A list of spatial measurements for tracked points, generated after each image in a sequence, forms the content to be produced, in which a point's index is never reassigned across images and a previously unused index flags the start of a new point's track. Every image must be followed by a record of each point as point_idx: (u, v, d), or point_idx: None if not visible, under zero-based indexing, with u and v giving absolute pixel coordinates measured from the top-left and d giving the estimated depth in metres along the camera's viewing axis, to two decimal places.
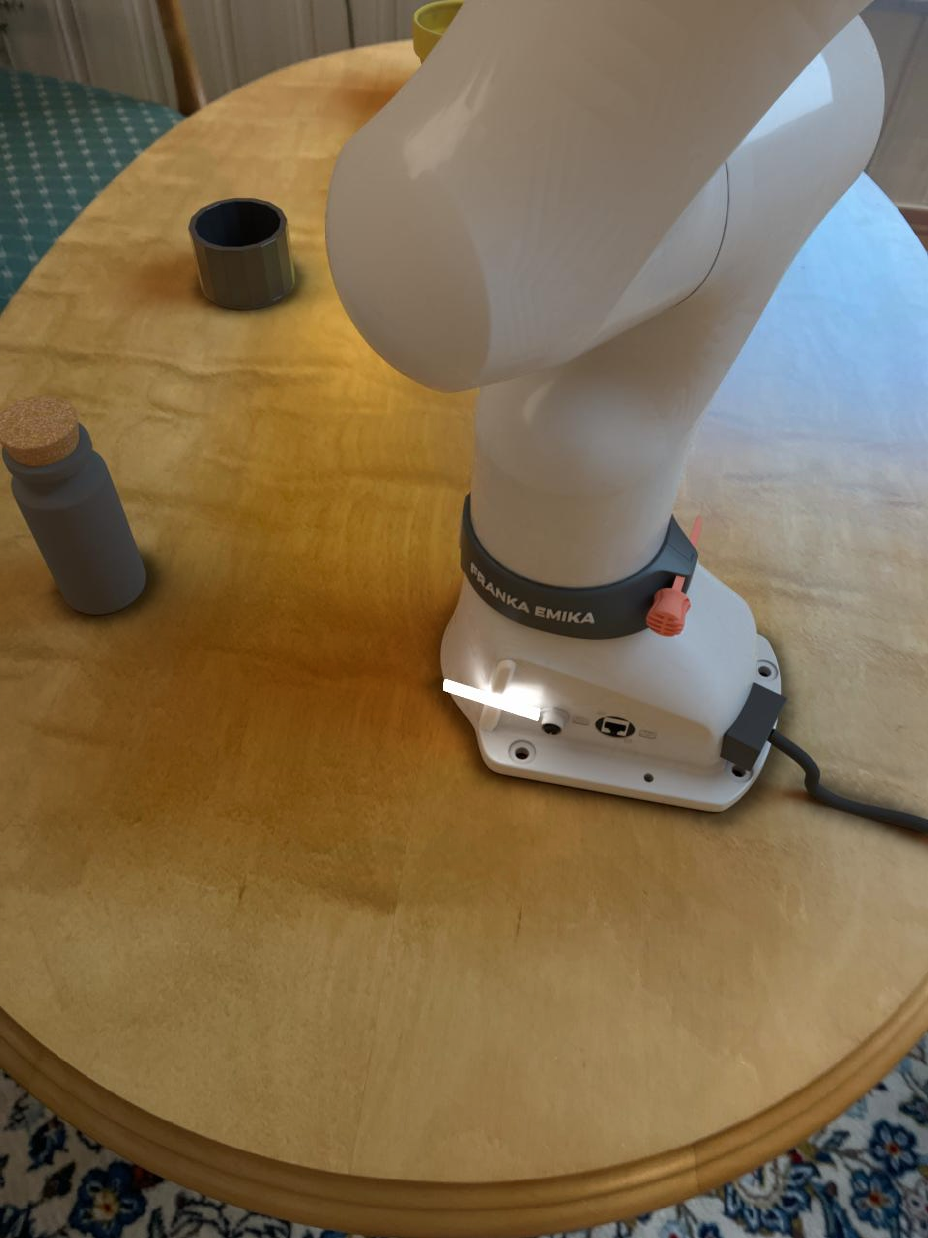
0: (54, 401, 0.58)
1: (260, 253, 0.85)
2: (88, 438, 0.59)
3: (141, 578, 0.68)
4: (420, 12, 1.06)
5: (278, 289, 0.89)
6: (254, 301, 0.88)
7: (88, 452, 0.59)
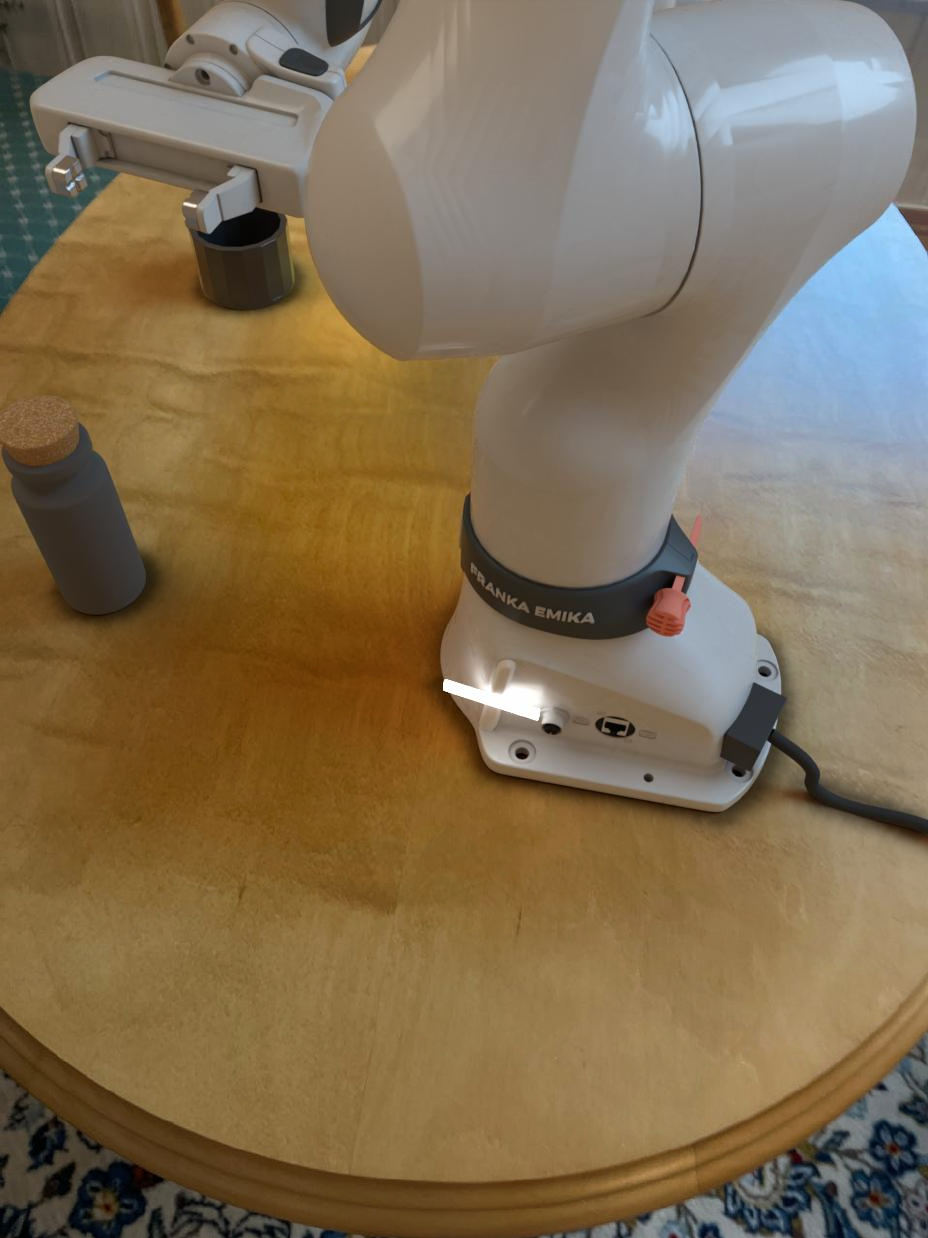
0: (54, 401, 0.58)
1: (260, 253, 0.85)
2: (88, 438, 0.59)
3: (141, 578, 0.68)
4: None
5: (278, 289, 0.89)
6: (254, 301, 0.88)
7: (88, 452, 0.59)
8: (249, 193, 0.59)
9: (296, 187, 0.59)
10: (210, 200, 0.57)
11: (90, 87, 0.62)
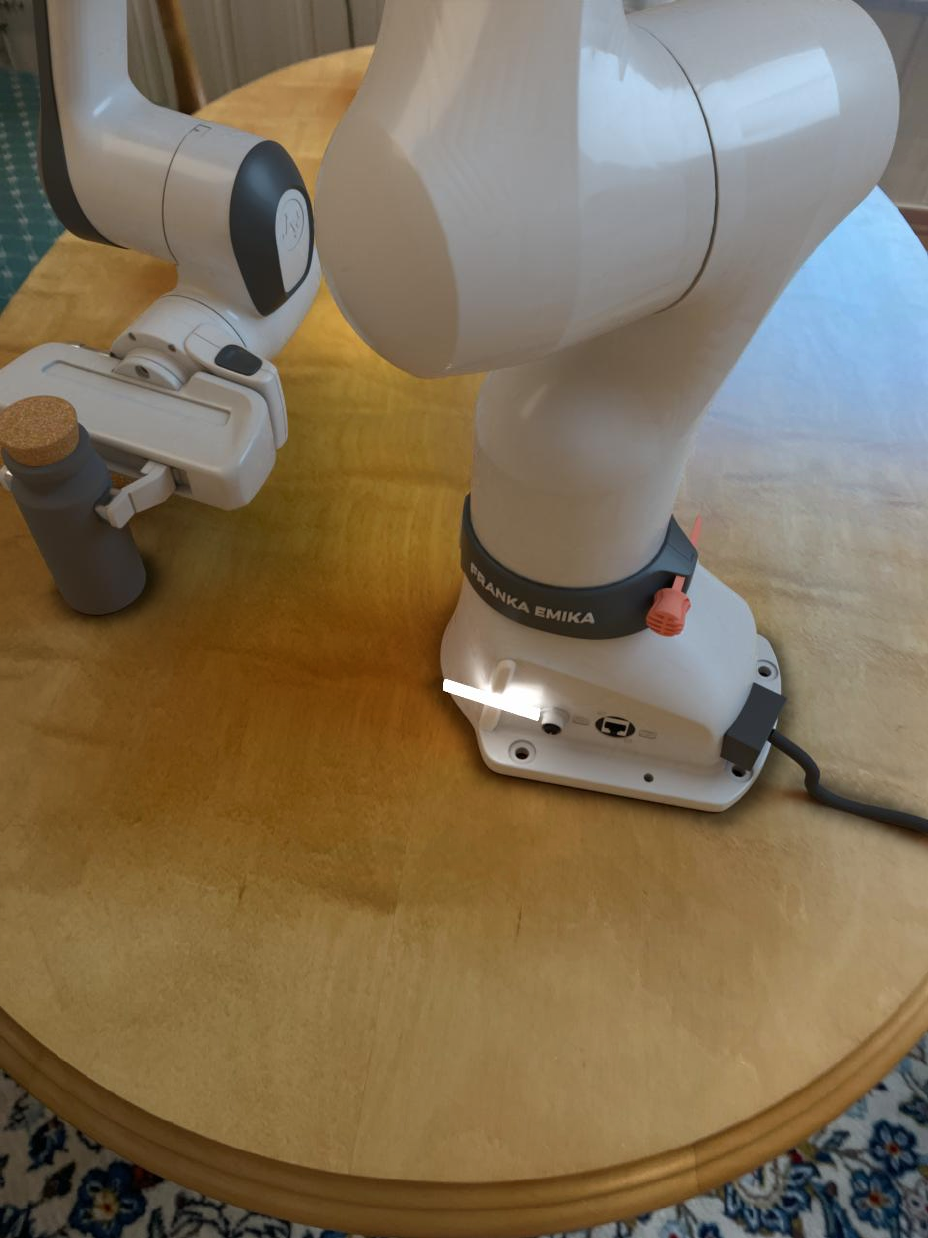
0: (54, 401, 0.58)
1: None
2: (88, 438, 0.59)
3: (141, 578, 0.68)
4: None
5: None
6: None
7: (88, 452, 0.59)
8: (162, 487, 0.62)
9: (222, 488, 0.61)
10: (121, 500, 0.60)
11: (36, 380, 0.66)
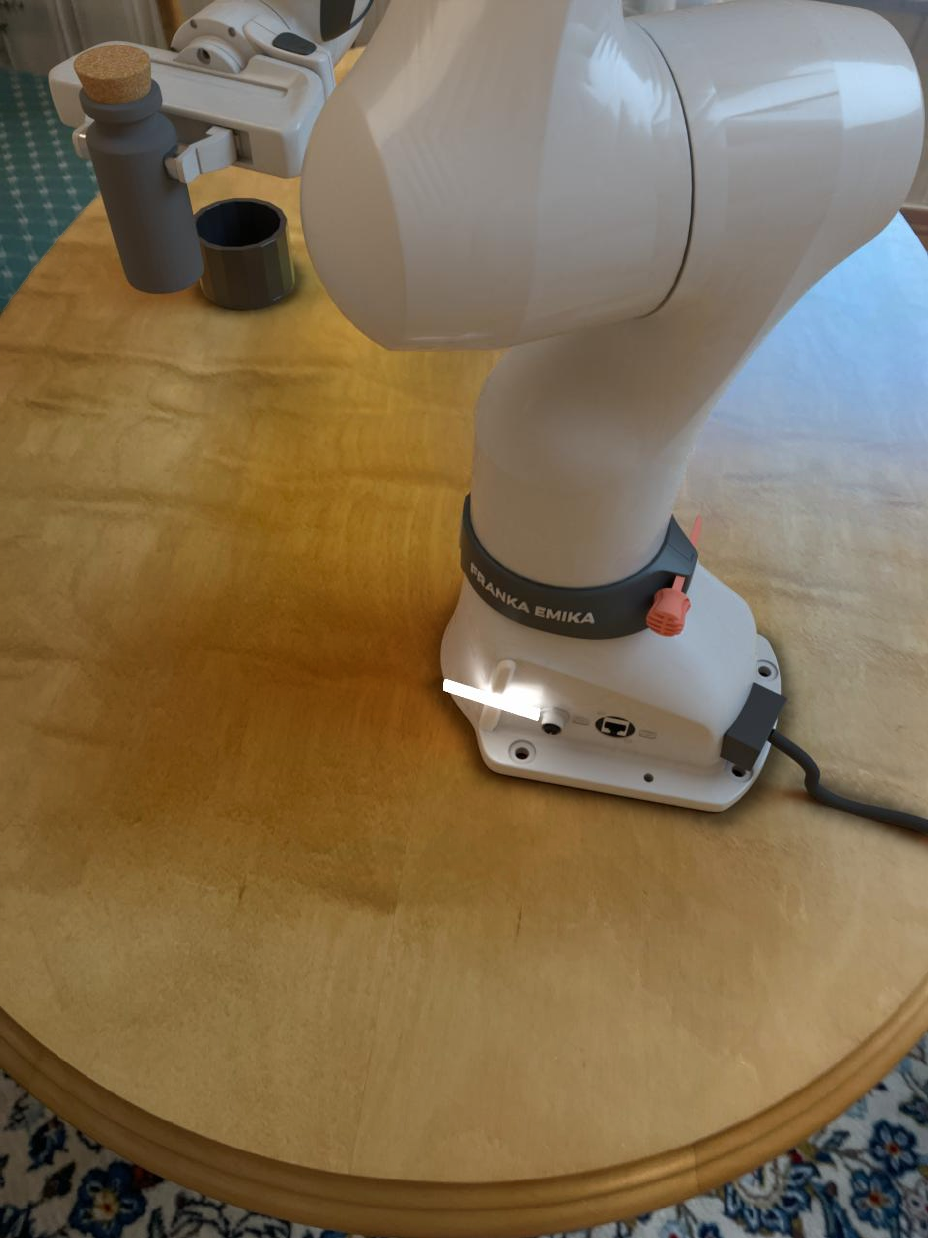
0: (128, 48, 0.62)
1: (260, 253, 0.85)
2: (159, 87, 0.63)
3: (200, 263, 0.72)
4: None
5: (278, 289, 0.89)
6: (254, 301, 0.88)
7: (159, 99, 0.63)
8: (225, 150, 0.66)
9: (282, 148, 0.65)
10: (189, 153, 0.64)
11: None
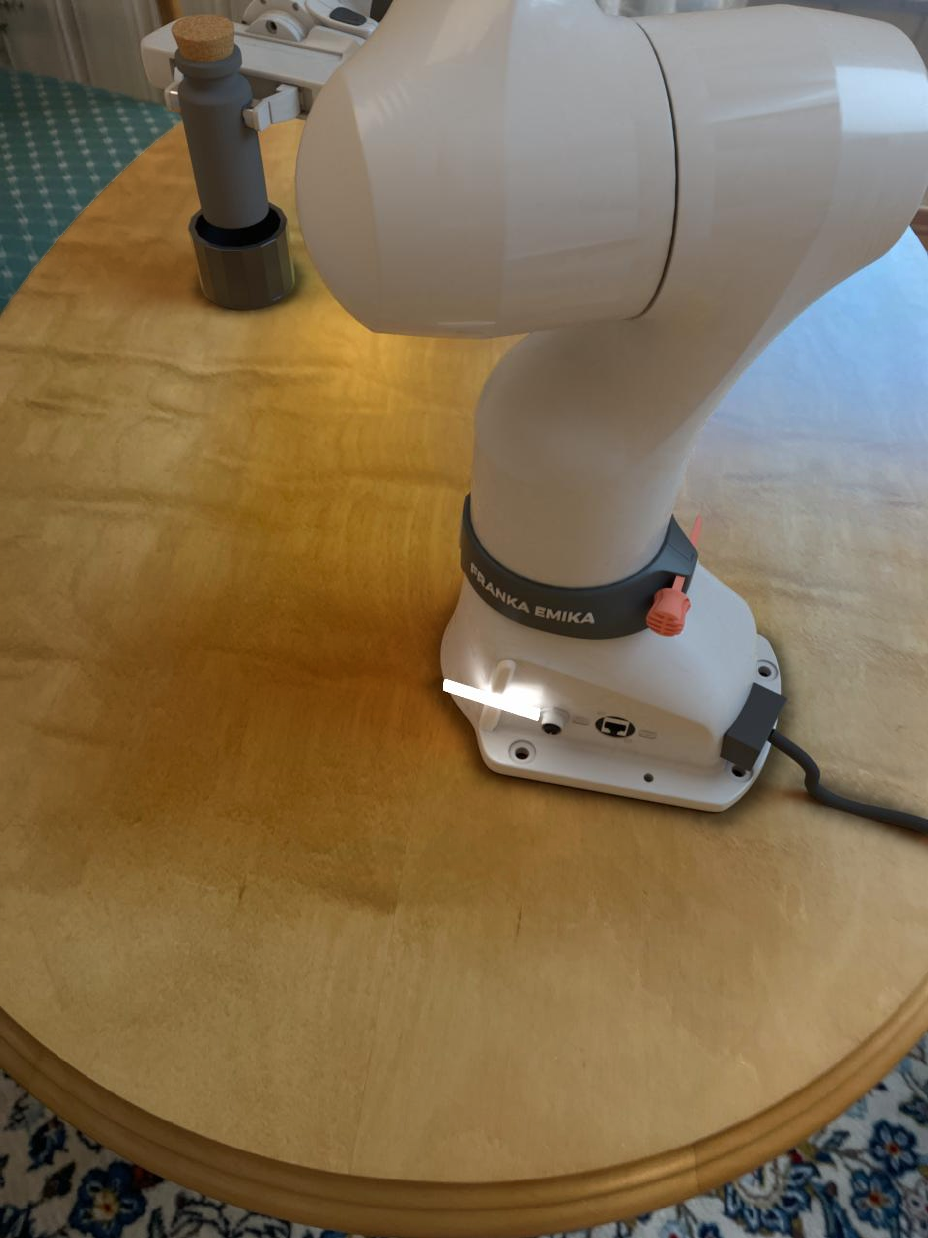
0: (215, 16, 0.75)
1: (260, 253, 0.85)
2: (239, 50, 0.76)
3: (266, 203, 0.85)
4: None
5: (278, 289, 0.89)
6: (254, 301, 0.88)
7: (240, 59, 0.75)
8: (292, 104, 0.79)
9: None
10: (263, 105, 0.77)
11: None
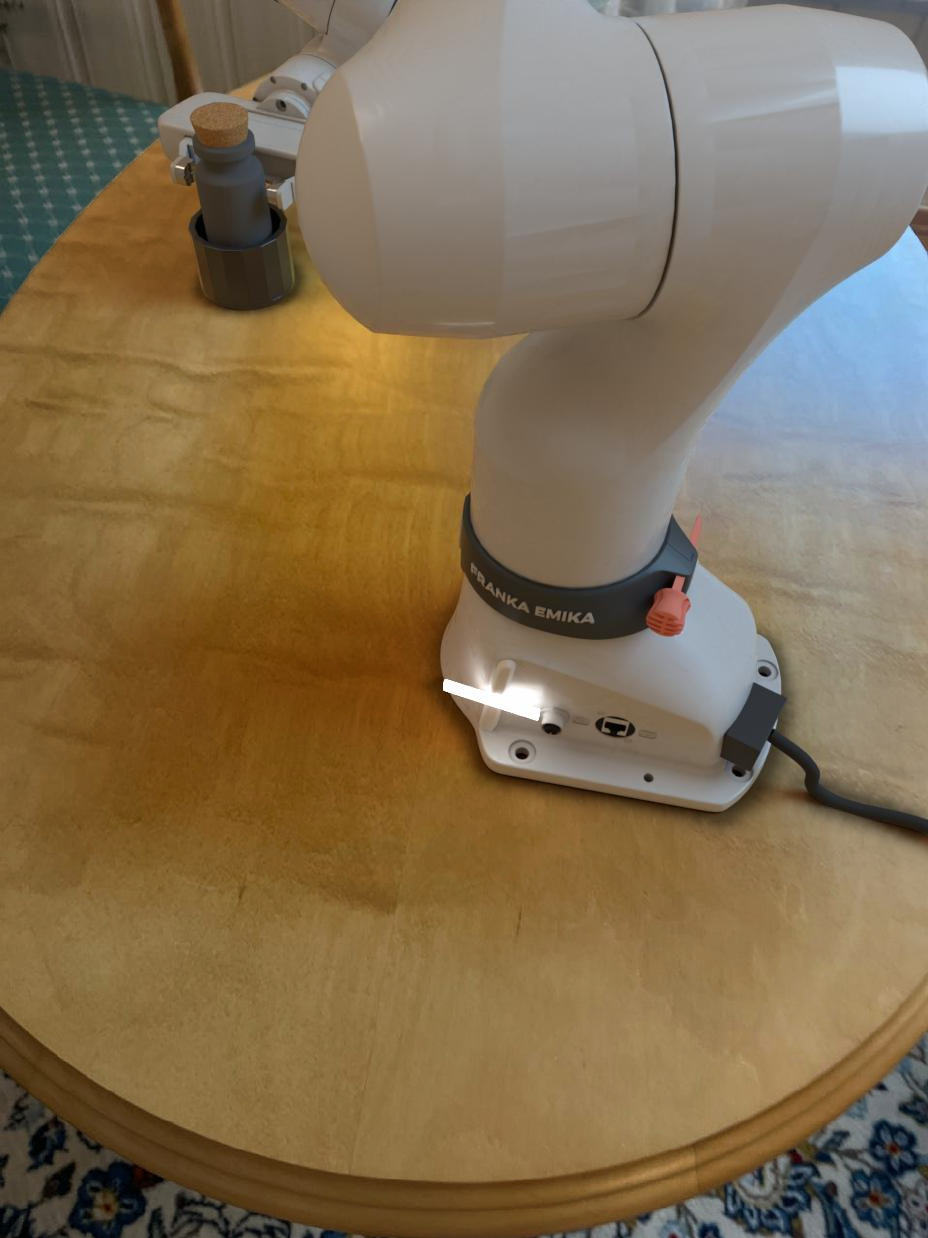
0: (230, 105, 0.80)
1: (260, 253, 0.85)
2: (253, 135, 0.81)
3: None
4: None
5: (278, 289, 0.89)
6: (254, 301, 0.88)
7: (254, 144, 0.81)
8: None
9: None
10: (286, 186, 0.82)
11: None
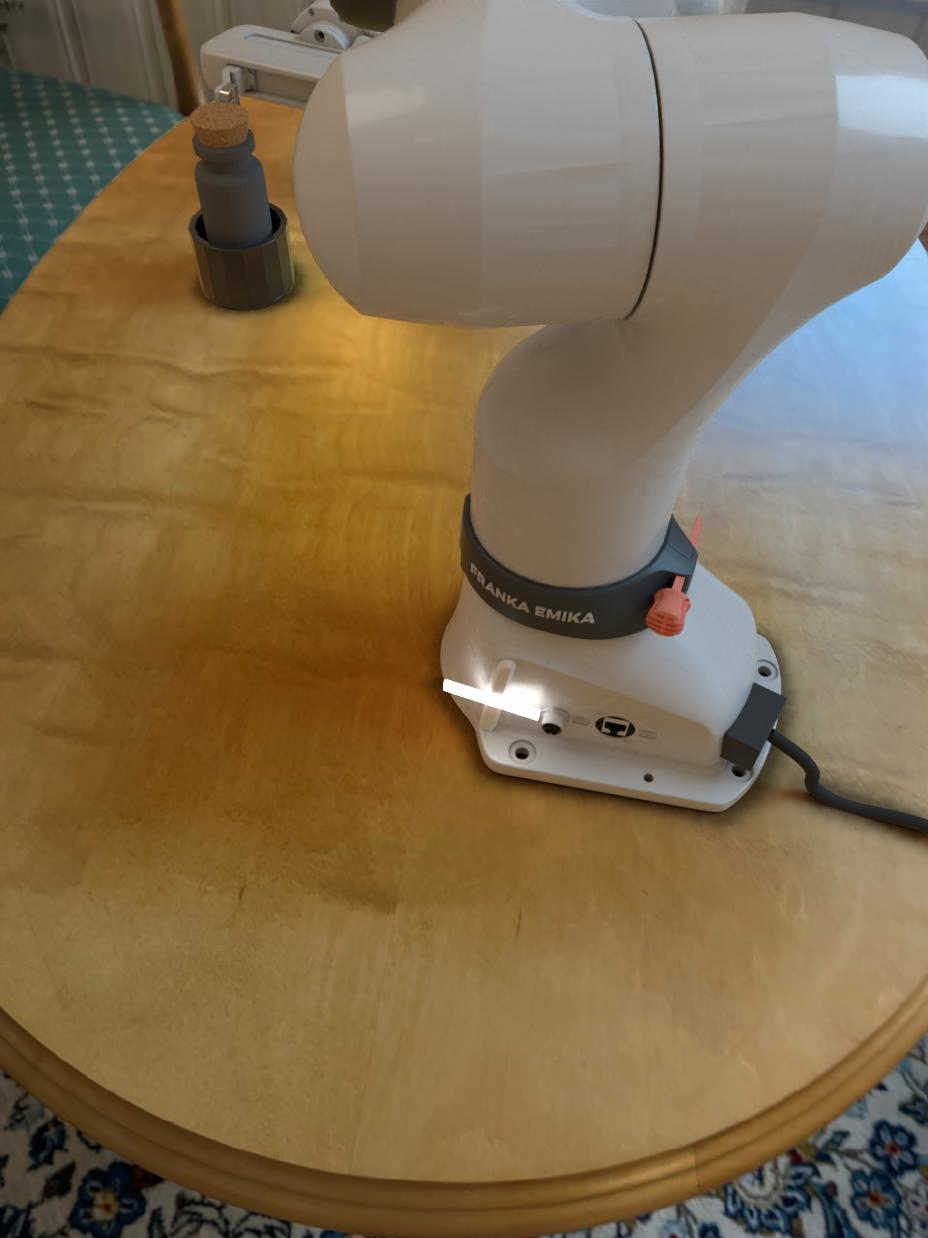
0: (230, 105, 0.80)
1: (260, 253, 0.85)
2: (253, 135, 0.81)
3: None
4: None
5: (278, 289, 0.89)
6: (254, 301, 0.88)
7: (254, 144, 0.81)
8: None
9: None
10: None
11: (242, 42, 0.91)
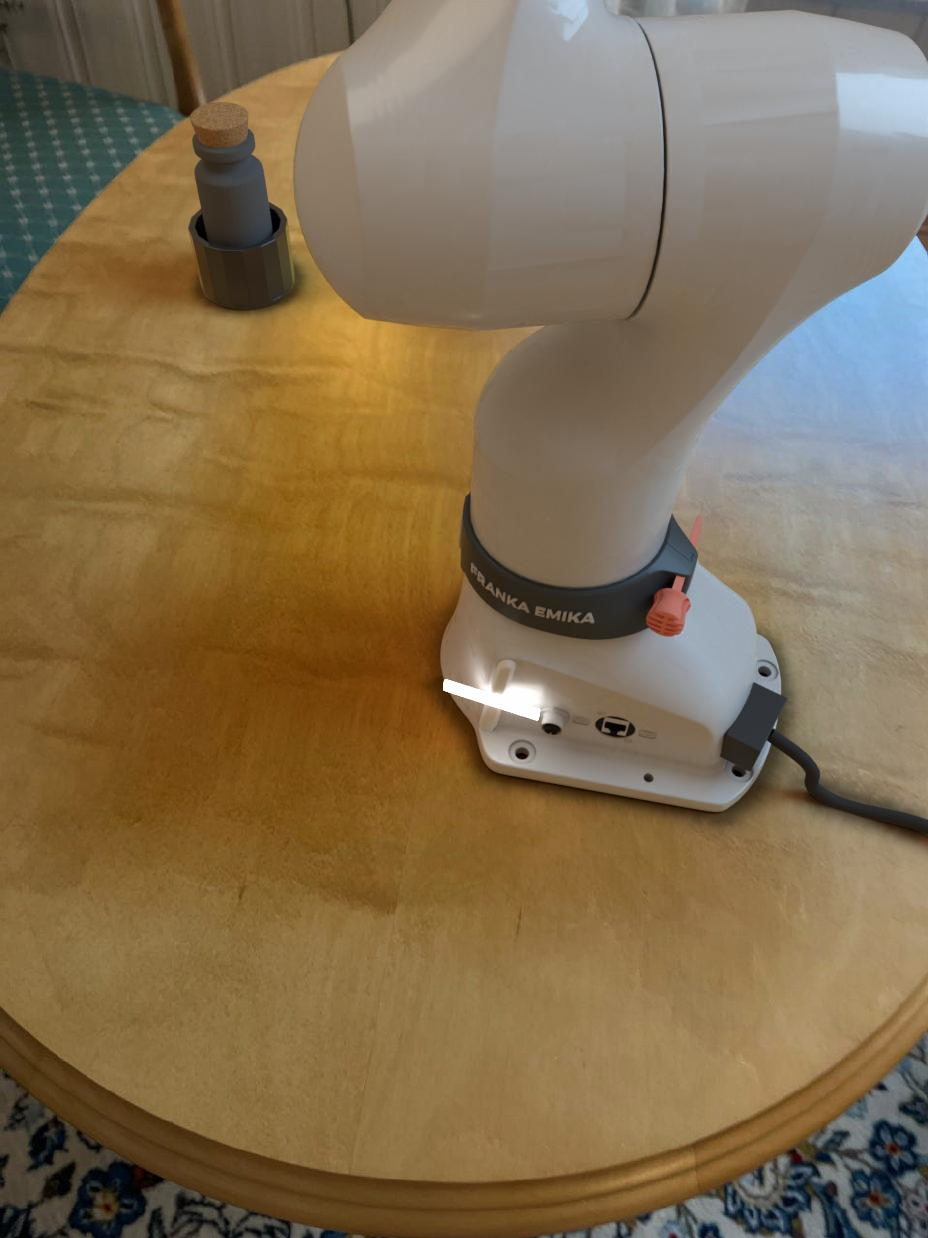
0: (230, 105, 0.80)
1: (260, 253, 0.85)
2: (253, 135, 0.81)
3: None
4: None
5: (278, 289, 0.89)
6: (254, 301, 0.88)
7: (254, 144, 0.81)
8: None
9: None
10: None
11: None
